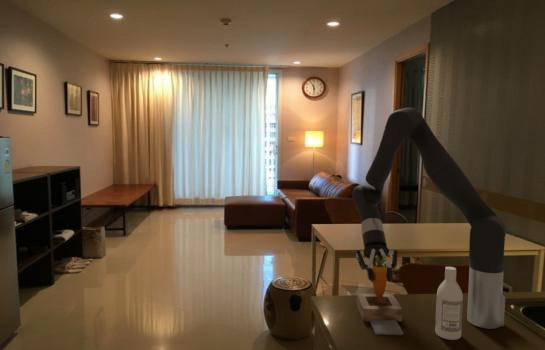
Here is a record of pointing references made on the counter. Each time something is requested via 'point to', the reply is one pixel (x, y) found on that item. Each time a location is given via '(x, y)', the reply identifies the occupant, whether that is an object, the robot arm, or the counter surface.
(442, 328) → the bath foam
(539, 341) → the counter surface
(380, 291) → the carrot
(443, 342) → the counter surface
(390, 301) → the holder
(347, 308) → the counter surface
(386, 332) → the plate
